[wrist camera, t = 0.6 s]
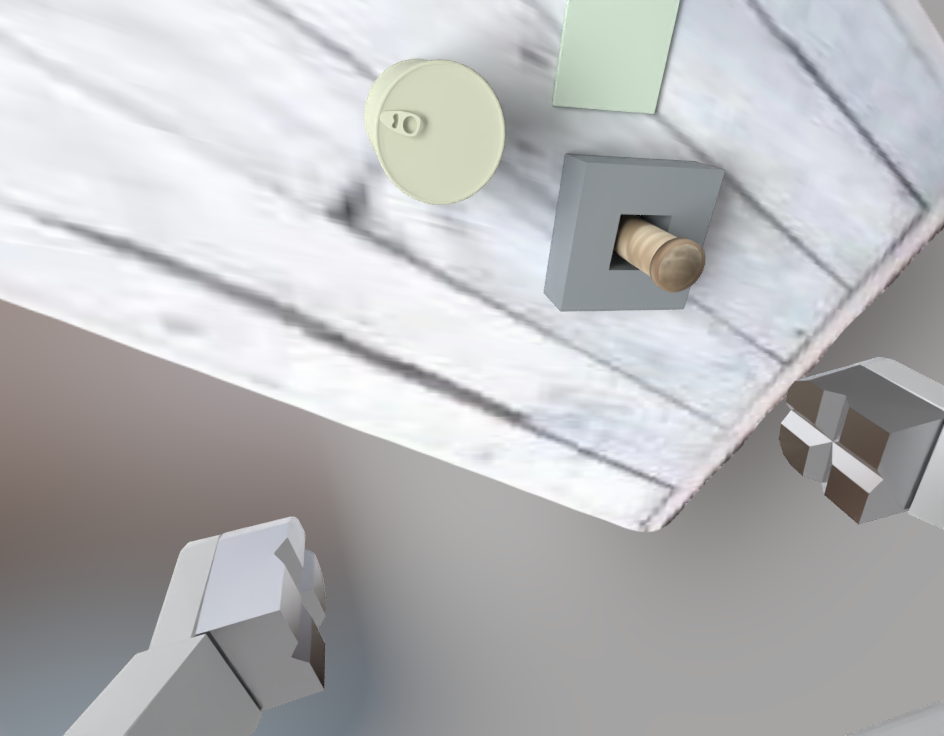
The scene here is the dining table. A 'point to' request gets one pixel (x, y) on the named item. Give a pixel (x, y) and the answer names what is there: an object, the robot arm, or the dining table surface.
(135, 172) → the dining table surface
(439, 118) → the can
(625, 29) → the mat
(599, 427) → the dining table surface
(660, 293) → the socket
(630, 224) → the plug
